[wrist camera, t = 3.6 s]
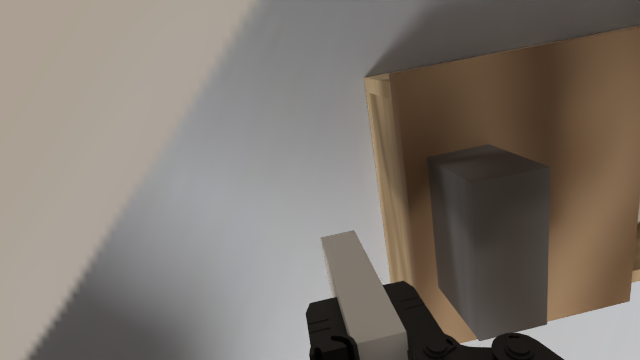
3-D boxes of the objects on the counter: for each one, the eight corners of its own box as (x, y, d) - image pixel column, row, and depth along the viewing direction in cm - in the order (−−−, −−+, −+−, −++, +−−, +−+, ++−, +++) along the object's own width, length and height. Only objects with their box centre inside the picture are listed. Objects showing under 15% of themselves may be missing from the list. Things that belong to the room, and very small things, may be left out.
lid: (418, 342, 21) (459, 417, 17) (388, 73, 17) (433, 78, 12) (617, 293, 22) (706, 352, 18) (641, 25, 18) (770, 13, 13)
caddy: (391, 285, 26) (419, 334, 21) (363, 77, 22) (391, 82, 17) (705, 211, 28) (795, 242, 23) (739, 6, 24) (858, -8, 19)
